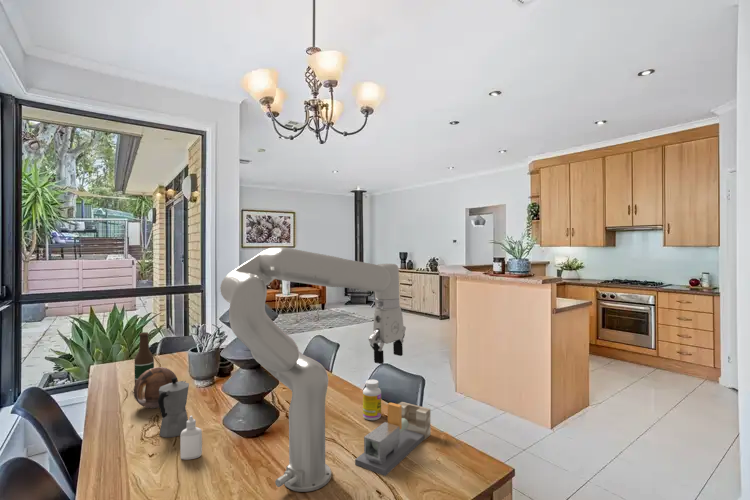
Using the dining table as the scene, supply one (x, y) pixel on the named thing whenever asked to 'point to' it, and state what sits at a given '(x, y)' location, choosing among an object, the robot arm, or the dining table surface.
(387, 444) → the sleeve
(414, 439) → the base board
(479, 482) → the dining table surface
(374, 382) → the supplement bottle
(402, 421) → the orange upright peg
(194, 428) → the eye dropper bottle
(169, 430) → the coffeepot
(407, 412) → the socket block
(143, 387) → the wooden sphere
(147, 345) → the beer bottle
